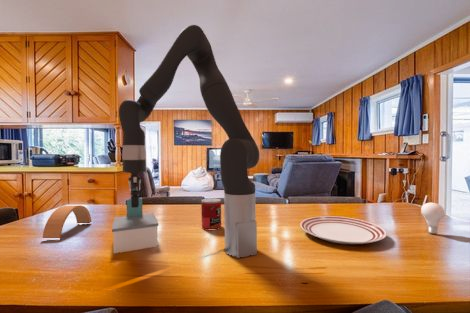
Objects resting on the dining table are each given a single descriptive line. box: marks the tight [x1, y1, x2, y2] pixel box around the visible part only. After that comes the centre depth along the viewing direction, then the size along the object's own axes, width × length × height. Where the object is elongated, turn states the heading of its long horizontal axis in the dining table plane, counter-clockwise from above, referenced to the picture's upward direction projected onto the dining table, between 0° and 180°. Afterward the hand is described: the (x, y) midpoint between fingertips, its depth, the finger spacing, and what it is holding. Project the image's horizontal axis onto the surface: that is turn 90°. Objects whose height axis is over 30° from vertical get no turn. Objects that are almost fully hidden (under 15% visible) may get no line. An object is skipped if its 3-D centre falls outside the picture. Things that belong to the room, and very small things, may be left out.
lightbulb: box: [420, 202, 446, 235], centre depth 82 cm, size 6×6×11 cm
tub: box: [112, 226, 158, 254], centre depth 76 cm, size 14×12×7 cm
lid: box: [111, 197, 159, 233], centre depth 76 cm, size 15×13×8 cm
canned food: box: [200, 197, 222, 230], centre depth 93 cm, size 8×8×11 cm
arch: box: [41, 205, 92, 238], centre depth 89 cm, size 6×20×10 cm, turn 3°
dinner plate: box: [299, 215, 388, 245], centre depth 83 cm, size 27×27×3 cm
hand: (134, 204), depth 82 cm, fingers open, 8 cm apart
